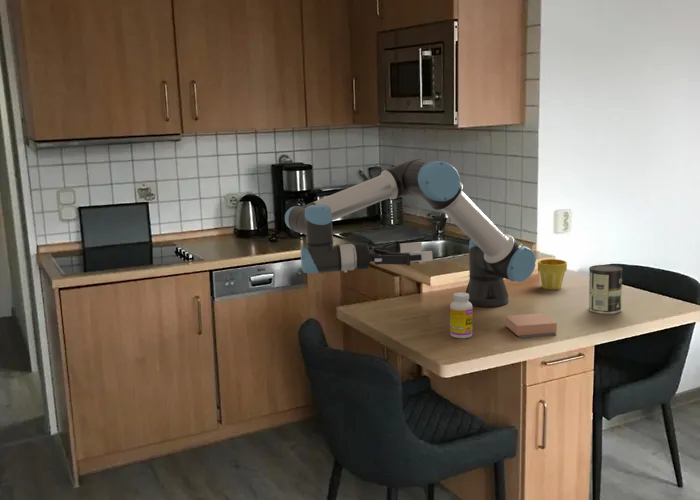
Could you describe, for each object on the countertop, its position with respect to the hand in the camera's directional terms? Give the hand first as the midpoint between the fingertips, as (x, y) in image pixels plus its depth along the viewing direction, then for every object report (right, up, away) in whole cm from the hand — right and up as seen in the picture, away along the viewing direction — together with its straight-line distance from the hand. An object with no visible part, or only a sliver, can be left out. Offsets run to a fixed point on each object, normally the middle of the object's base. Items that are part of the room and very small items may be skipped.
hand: (426, 251), depth 221 cm
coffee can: (+61, -20, +28) cm, 70 cm away
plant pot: (+52, -14, +59) cm, 80 cm away
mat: (+32, -24, +9) cm, 41 cm away
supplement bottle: (+11, -26, +7) cm, 29 cm away
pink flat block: (+26, -23, +8) cm, 36 cm away
